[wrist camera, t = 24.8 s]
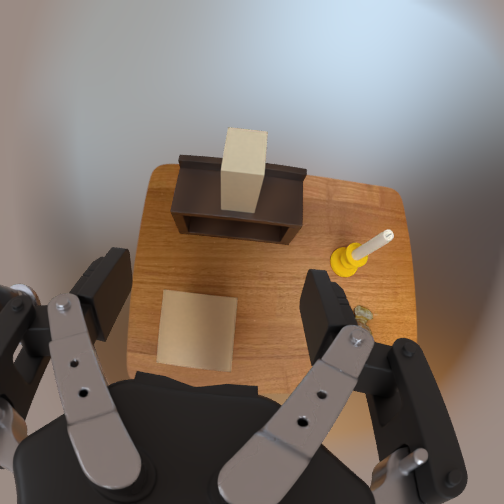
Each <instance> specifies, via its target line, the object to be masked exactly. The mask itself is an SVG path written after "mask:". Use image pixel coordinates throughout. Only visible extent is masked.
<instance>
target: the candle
mask: <svg viewBox="0 0 504 504" xmlns="http://www.w3.org/2000/svg"><path fill="white" fill-rule="evenodd" d="M393 237H394V235H393V232H392V231H391V230H385V231H384V232H382V233H380V234H378V235H377V236H375V237H374V238H372V239H371V240H369V241H368V242H366V243H364V244H363V245H362V244H360V243H352V244H350V245H349V246H348V247H347V248H345V247H342V248H338V249H336V250H335V251H334V252H333V253H332V255H331V258H330V264H331V267H332V270H333V271H334V272H335V273H336V274H337V275H338V276H340V277H350V276H352V275H353V274H354V273H355V272H356V271H357V268H358V267H361V266H363V265H364V264H365V263H366V262H367V259H368V254H370V253H372V252H373V251H375V250H377V249H379V248H380V247H382V246H384V245H385V244H387V243H388V242H390V241H391V240H392V239H393Z"/></svg>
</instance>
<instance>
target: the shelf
mask: <svg viewBox="0 0 504 504" xmlns="http://www.w3.org/2000/svg"><path fill="white" fill-rule="evenodd" d="M222 160H223V158H215V157H205V156H191V155H180V156H179V160H178V161H179V165H180V170H179V175H178V179H177V183H176V188H175V193H174V197H173V202H172V207H171V214H172V216H173V218H174V221H175V223H176V225H177V228H178V230H179V232H180V233H182V234H192V235H202V236H211V237H221V238H230V239H239V240H248V241H258V242H267V243H276V244H284V245H289V243H290V242H291V241H292V239H293V238H294V237H295V235H296V234H297V233H298V231H299V230H300V229H301V227H302V223H303V181H304V179H305V177H306V175H307V170H306V169H302V168H297V167H290V166H283V165H277V164H269V163H265V175H264V179H263V183H262V186H261V190H260V194H259V198H258V201H257V205H256V209H255V213H248V212H240V211H230V210H221V166H222Z"/></svg>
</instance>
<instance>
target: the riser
mask: <svg viewBox="0 0 504 504" xmlns="http://www.w3.org/2000/svg"><path fill="white" fill-rule="evenodd" d="M237 301H238V298H234V297H224V296H215V295H206V294H197V293H189V292H181V291H173V290H165V289H164V293H163V301H162V309H161V318H160V327H159V337H158V348H157V361H156V362H157V363H163V364H169V365H175V366H182V367H189V368H197V369H205V370H214V371H224V372H231V368H232V356H233V345H234V334H235V323H236V311H237Z"/></svg>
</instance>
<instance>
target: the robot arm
mask: <svg viewBox="0 0 504 504" xmlns="http://www.w3.org/2000/svg"><path fill="white" fill-rule="evenodd" d="M132 281H133V280H132V270H131V261H130V253H129V250H128V249H123V248H114V247H113V248H111V249H110V250H109V252H108V253H107V254H106V256H105V257H100V258H99V259H97V260H95V261H94V262H93V263H92V264H91V265H90V266H89V268H88V269H87V270H86V271H85V273H84V274H83V276H81V278H80V279H79V280H78V282H77V283H76V284H75V286H74V287H73V288H72V290H71V291H70V292H69V293H64V294H60V295H57V296H56V297H54V298H53V299H52V300H51V301H50V302H49V304H48V305H45V306H34V305H33V302H32V300H31V298H30V297H29V296H28V295H27V294H26V293H25V292H23V291H21V290H18V289H12V288H9V287H6V286H3V285H0V469H7V470H8V471H10V472H12V473H14V478H15V483H16V491H17V504H442V503H444V502H446V501H448V500H450V499H453V498H455V497H457V496H458V495H460V494H461V493H462V492H463V490H464V489H465V487H466V484H467V479H468V478H467V471H466V467H465V463H464V460H463V456H462V453H461V450H460V447H459V443H458V440H457V437H456V434H455V431H454V428H453V425H452V422H451V420H450V417H449V414H448V411H447V409H446V406H445V403H444V401H443V398H442V396H441V393H440V390H439V388H438V386H437V383H436V381H435V378H434V376H433V374H432V371H431V369H430V367H429V365H428V362H427V360H426V358H425V356H424V354H423V351H422V349H421V348H420V346H419V345H418V344H417V343H415V342H414V341H412V340H410V339H407V338H400V339H397V340H396V341H395V342H394V344H393V345H392V346H389V345H385V344H381V343H377V342H374V339H373V336H372V335H371V334H370V332H368V331H367V330H366V329H364V328H362V327H360V326H358V323H357V321H356V319H355V316H354V314H353V311H352V309H351V307H350V306H349V302H348V300H347V299H346V298H347V297H346V295H345V293H344V291H343V289H342V288H341V287H340V286H339V285H338V284H337V283H336V282H331V281H330V278H329V276H328V274H327V271H325V270H315V269H309V270H308V272H307V276H306V279H305V283H304V287H303V290H302V294H301V297H300V313H301V318H302V322H303V327H304V332H305V337H306V341H307V346H308V351H309V356H310V361H311V366H313V367H312V368H311V369H310V371H309V372H308V373H307V375H306V376H305V377H304V378H303V380H302V381H301V382H300V384H299V385H298V386H297V387H296V389H295V390H294V391H293V392H292V394H291V395H290V396H289V398H288V399H287V400H286V401H285V403H284V404H283V405H280V404H279V403H277V402H276V401H273V400H271V399H269V398H267V397H264V396H261V395H258V386H248V385H234V384H223V385H214V386H204V387H193V386H190V385H187V384H184V383H181V382H179V381H176V380H174V379H171V378H168V377H166V376H161V375H155V374H150V373H144V372H139V371H137V372H136V375H135V379H130V380H123V381H119V382H116V383H113V384H111V385H109V384H108V382H107V379H106V377H105V374H104V372H103V369H102V366H101V364H100V361H99V358H98V356H97V353H96V350H95V347H94V343H95V341H96V340H100V341H104V342H105V341H106V340H107V337H108V335H109V333H110V331H111V329H112V327H113V325H114V323H115V321H116V319H117V317H118V315H119V313H120V311H121V309H122V307H123V305H124V303H125V301H126V299H127V297H128V295H129V293H130V291H131V288H132ZM19 343H21V345H22V346H23V347H22V349H21V351H20V353H19V355H18V356H17V358H16V360H15V362H14V363H13V354H14V352H15V350H16V348H17V346H18V344H19ZM50 359H52V365H53V370H54V375H55V379H56V383H57V387H58V391H59V395H60V399H61V403H62V406H63V409H64V414H63V415H61V416H60V417H58V418H57V419H55V420H53V421H52V422H50V423H49V424H47V425H45V426H44V427H42V428H40V429H39V430H37V431H36V432H34V433H32V434H31V435H29V436H28V435H27V426H26V423H25V419H26V416H27V414H28V411H29V408H30V405H31V403H32V400H33V398H34V395H35V393H36V390H37V388H38V385H39V383H40V380H41V378H42V376H43V374H44V372H45V369H46V367H47V365H48V363H49V361H50ZM352 391H357V392H362V393H365V394H366V398H367V402H368V407H369V411H370V416H371V420H372V425H373V430H374V435H375V440H376V444H377V450H378V454H379V460H380V462H379V463H378V464H377V465H376V467H375V468H374V470H373V472H372V482H371V486H370V488H369V486H368V485H367V484H366V483H365V482H364V481H363V480H362V479H360V478H359V477H358V476H357V475H356V474H354V472H352V471H351V470H350V469H349V468H348V467H347V466H346V465H344V464H343V463H342V462H341V461H340V460H339V459H338V458H337V457H336V456H334V455H333V454H332V453H331V452H330V451H329V450H328V449H327V448H326V447H325V446H324V445H322V442H323V440H324V439H325V437H326V435H327V434H328V432H329V431H330V429H331V428H332V426H333V424H334V423H335V421H336V419H337V418H338V416H339V414H340V412H341V411H342V409H343V407H344V406H345V404H346V402H347V400H348V398H349V397H350V395H351V393H352Z"/></svg>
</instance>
